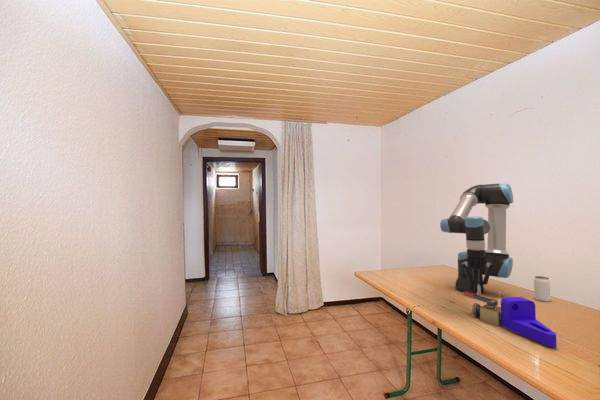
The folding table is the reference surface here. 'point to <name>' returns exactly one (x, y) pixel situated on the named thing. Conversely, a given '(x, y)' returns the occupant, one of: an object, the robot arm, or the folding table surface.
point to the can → (542, 288)
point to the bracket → (525, 320)
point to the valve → (487, 313)
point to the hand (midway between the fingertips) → (479, 298)
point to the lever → (481, 298)
